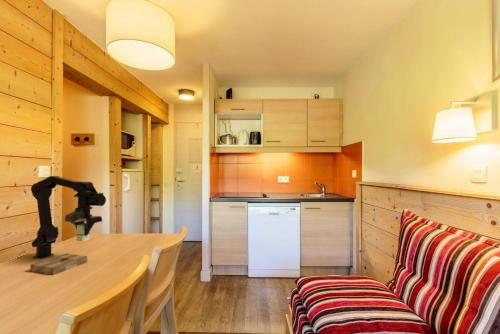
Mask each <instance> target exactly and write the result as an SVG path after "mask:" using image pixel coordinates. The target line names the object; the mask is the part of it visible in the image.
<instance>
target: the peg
mask: <svg viewBox="0 0 500 334" xmlns="http://www.w3.org/2000/svg"><path fill="white" fill-rule="evenodd" d="M90 234H91V233H90V232H89V233H88V235H87V236H85V226H84V225H83V224H81V225H77V229H76V236H75V237H76V240H75V241H76V242H84V241H85V242H86V241H88V240H90Z"/></svg>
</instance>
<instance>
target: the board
mask: <svg viewBox="0 0 500 334" xmlns="http://www.w3.org/2000/svg"><path fill="white" fill-rule="evenodd" d="M86 263H88V255H81V254H72V253H63V254H60V255H57V256H53V257H51V258H47V259H45V260H44V259H43V260H40V261H37V262H34V263H31V264H30V272H32V273H38V274H45V275H52V276H54V275H57V274H59V273H60V274H61V273H63V272H66V271H68V270H70V269H73V268H75V267H79V266H81V265H84V264H86Z"/></svg>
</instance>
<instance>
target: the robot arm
mask: <svg viewBox="0 0 500 334" xmlns="http://www.w3.org/2000/svg"><path fill="white" fill-rule="evenodd" d="M57 186H60V187H65V188H69V189H72V190H73V191H74V192H76V193H75V194H74V195H73V197H74V198H77V207H75V209H74V211H71V212H70V213H68V214H66V215H64V221H65V222H67V223H69V222H70V224H72V225H74V227H75V229H76V230H77V225H81V224H83V225H84V226H85V236H87V235H88V233H89V232H90V231H91V230H92V228H93V226H94V225H95V224H96V223H97V224H98V223H102V222H103V217H102V216H100V215H93V214H91V210H93V207H103V206H104V205H105V204H106V202H107V198H106V196H105V195H104V192H98V191H97V190H96V188H95V187H94V184H93V182H91V181H78V180H73V179H70V178H65V177H62V176H58V175H50V176H48V177H46V178H45V179H42V180H39V181H38V182H35V183H33V184H32V185H31V186H30V187H31V188H30V190H31V193H32V196H33V197H34V198H35V200H36V202H37V210H38V218H39V228H38V231H37V233H36V238H35V239H34V240H33V241H31V247H32V248H36V249H35V255H34V256H32V258H34V259H40V260H41V259H45V258H48V257H52V256H54V255H55V254H54V253H52V244H55V243H56V241H57V238H59V234H60V232H59V227H58V226H55V225H54V224H53V219H52V211H51V210H52V209H51V204H50V198H51V196H52V194H53V189H54V188H56V187H57Z"/></svg>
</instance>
